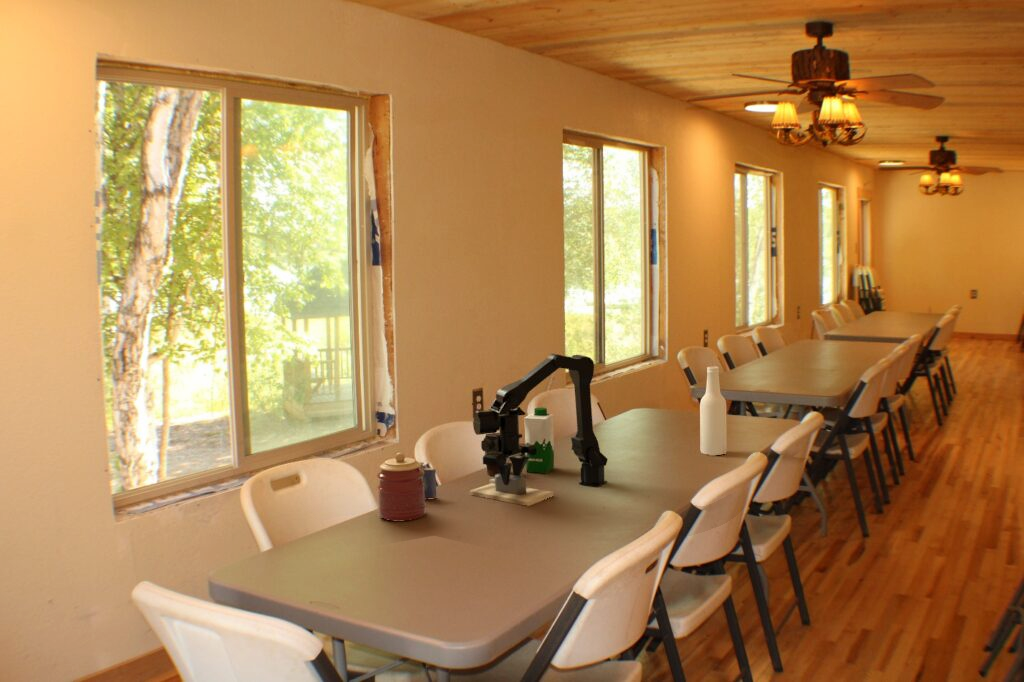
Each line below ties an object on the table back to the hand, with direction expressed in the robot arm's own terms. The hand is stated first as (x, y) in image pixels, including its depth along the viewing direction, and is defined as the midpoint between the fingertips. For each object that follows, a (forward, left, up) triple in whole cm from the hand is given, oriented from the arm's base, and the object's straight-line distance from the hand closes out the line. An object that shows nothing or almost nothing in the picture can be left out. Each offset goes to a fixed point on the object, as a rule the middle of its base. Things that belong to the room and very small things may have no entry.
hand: (510, 483), depth 275 cm
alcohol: (-26, -79, -4) cm, 83 cm away
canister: (+13, +32, -4) cm, 35 cm away
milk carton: (+11, -29, -4) cm, 31 cm away
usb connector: (0, 0, -2) cm, 2 cm away
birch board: (0, 0, -4) cm, 4 cm away
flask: (+21, +16, -4) cm, 27 cm away
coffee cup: (+20, -18, -4) cm, 27 cm away
